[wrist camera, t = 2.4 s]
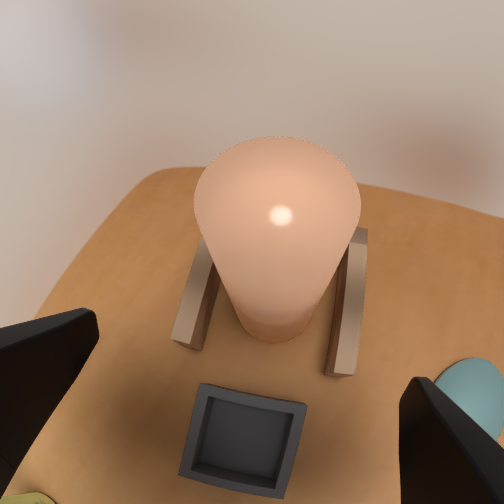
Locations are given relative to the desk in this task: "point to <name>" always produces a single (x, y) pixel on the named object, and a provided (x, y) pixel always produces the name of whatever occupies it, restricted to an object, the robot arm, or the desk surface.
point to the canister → (276, 229)
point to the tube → (26, 499)
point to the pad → (476, 392)
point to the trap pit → (242, 441)
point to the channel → (344, 319)
